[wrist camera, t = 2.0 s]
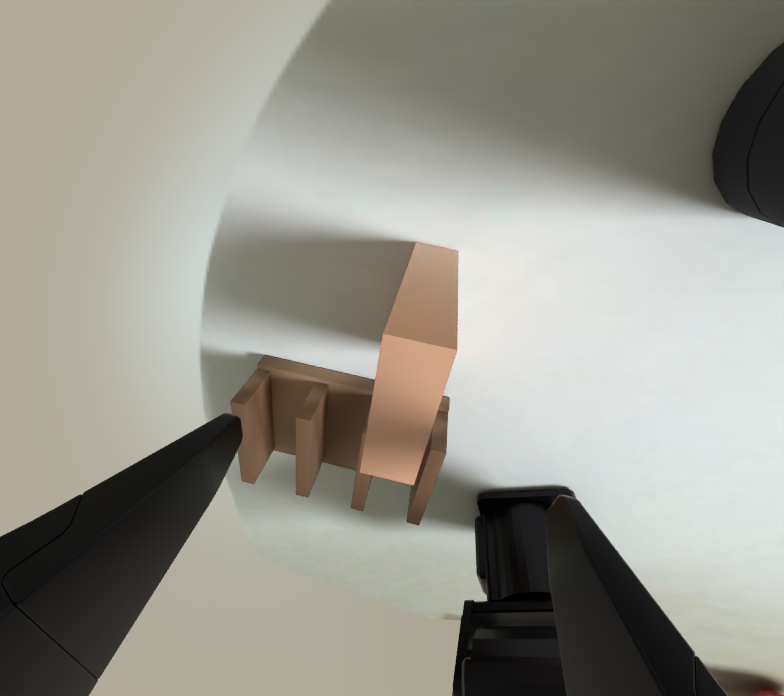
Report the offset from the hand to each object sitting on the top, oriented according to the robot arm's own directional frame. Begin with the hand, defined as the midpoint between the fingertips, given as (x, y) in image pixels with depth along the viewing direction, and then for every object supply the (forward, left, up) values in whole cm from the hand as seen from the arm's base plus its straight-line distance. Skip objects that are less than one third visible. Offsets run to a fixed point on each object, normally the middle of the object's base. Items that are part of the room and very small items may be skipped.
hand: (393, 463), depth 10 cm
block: (0, 0, -10) cm, 10 cm away
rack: (+7, +7, -10) cm, 14 cm away
